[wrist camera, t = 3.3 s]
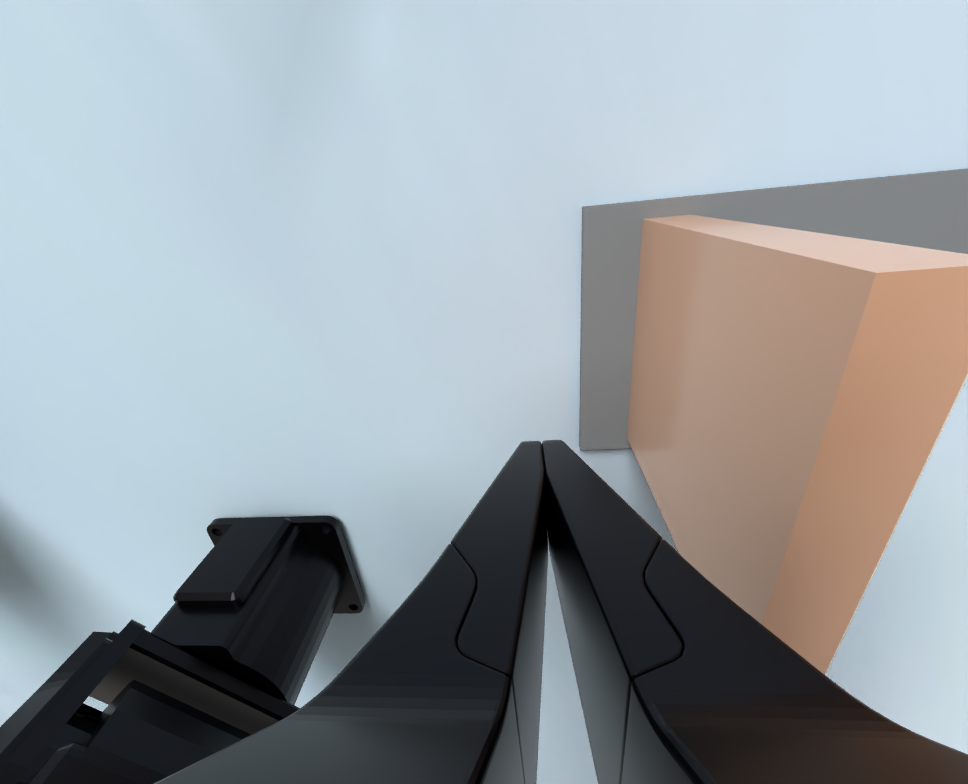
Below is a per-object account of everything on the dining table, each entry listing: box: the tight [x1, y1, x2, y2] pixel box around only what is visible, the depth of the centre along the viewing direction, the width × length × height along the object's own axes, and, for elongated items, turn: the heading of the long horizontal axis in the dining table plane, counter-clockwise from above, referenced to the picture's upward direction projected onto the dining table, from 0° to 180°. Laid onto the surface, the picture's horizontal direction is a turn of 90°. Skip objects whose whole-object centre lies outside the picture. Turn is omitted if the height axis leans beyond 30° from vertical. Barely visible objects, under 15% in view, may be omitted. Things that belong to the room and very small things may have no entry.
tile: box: [627, 215, 968, 675], centre depth 10 cm, size 8×2×9 cm, turn 5°
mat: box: [579, 169, 968, 450], centre depth 14 cm, size 9×13×1 cm
